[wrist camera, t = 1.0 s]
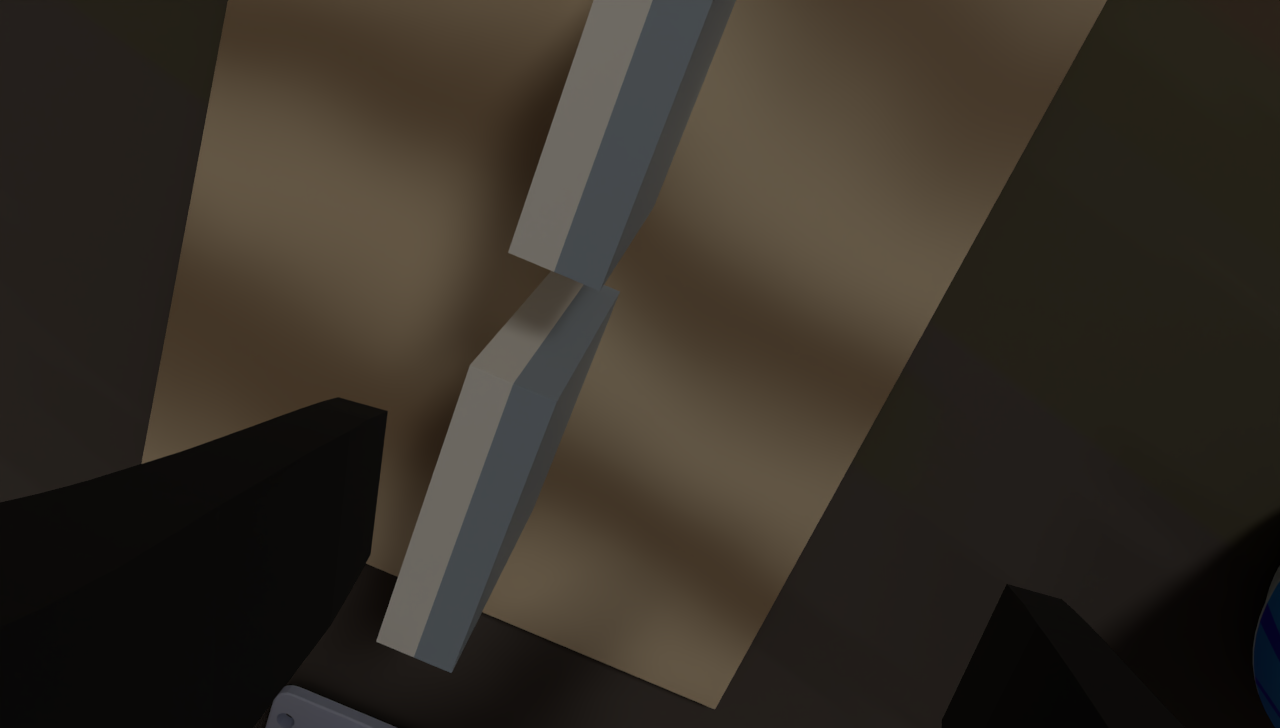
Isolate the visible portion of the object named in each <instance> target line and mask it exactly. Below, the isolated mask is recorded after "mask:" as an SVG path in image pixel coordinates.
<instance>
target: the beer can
mask: <svg viewBox="0 0 1280 728" xmlns="http://www.w3.org/2000/svg"><path fill="white" fill-rule="evenodd" d="M1253 671H1254V679H1255V683H1256V687H1257V690H1258V694H1259V697H1260V699H1261V702H1262V704H1263V707H1264V709H1265V711H1266V713H1267V715H1268V717H1269V718H1270V720H1271V722H1272V724H1273V725H1274V727H1275V728H1280V566H1279V568H1278V569H1277V571H1276V573H1275V575H1274V577H1273V580H1272V582H1271V585H1270V587H1269V590H1268V594H1267V598H1266V602H1265V604H1264V607H1263V609H1262V612H1261V614H1260V617H1259V620H1258V624H1257V628H1256V631H1255V637H1254V644H1253Z"/></svg>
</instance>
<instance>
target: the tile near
mask: <svg viewBox="0 0 1280 728" xmlns="http://www.w3.org/2000/svg"><path fill="white" fill-rule="evenodd" d="M735 2H736V0H593V3H592V6H591V9H590V12H589V15H588V18H587V21H586V24H585V27H584V30H583V33H582V36H581V39H580V42H579V45H578V48H577V51H576V54H575V56H574V59H573V62H572V65H571V68H570V71H569V74H568V77H567V80H566V83H565V86H564V89H563V92H562V95H561V98H560V101H559V104H558V107H557V110H556V113H555V115H554V118H553V121H552V124H551V127H550V130H549V133H548V136H547V139H546V142H545V145H544V148H543V151H542V154H541V157H540V160H539V163H538V166H537V169H536V172H535V174H534V177H533V180H532V183H531V186H530V189H529V192H528V195H527V198H526V201H525V204H524V207H523V210H522V213H521V216H520V219H519V222H518V225H517V228H516V231H515V233H514V236H513V239H512V242H511V245H510V248H509V251H508V253H510V254H513V255H515V256H517V257H520V258H522V259H524V260H527V261H529V262H532V263H534V264H536V265H539V266H541V267H543V268H546V269H548V270H551V271H553V272H555V273H558V274H560V275H562V276H565V277H567V278H570V279H572V280H574V281H577V282H579V283H582V284H584V285H586V286H589V287H591V288H593V289H596V290H598V291H600V290H601V289H602V287H603V286H604V284H605V282H606V281H607V279H608V278H609V276H610V275H611V273H612V272H613V270H614V268H615V267H616V265H617V264H618V262H619V261H620V259H621V258H622V256H623V254H624V253H625V251H626V250H627V248H628V247H629V245H630V244H631V242H632V240H633V239H634V237H635V236H636V234H637V233H638V231H639V229H640V228H641V226H642V225H643V223H644V222H645V220H646V219H647V217H648V215H649V214H650V212H651V211H652V209H653V208H654V205H655V203H656V200H657V198H658V195H659V193H660V190H661V188H662V185H663V183H664V180H665V177H666V175H667V172H668V170H669V167H670V165H671V162H672V160H673V157H674V155H675V152H676V150H677V147H678V145H679V142H680V140H681V137H682V135H683V132H684V130H685V127H686V125H687V122H688V120H689V117H690V115H691V112H692V110H693V107H694V105H695V102H696V100H697V97H698V95H699V92H700V90H701V87H702V85H703V82H704V80H705V77H706V75H707V72H708V70H709V67H710V65H711V62H712V60H713V57H714V54H715V52H716V49H717V47H718V44H719V42H720V39H721V37H722V34H723V32H724V29H725V27H726V24H727V22H728V19H729V17H730V14H731V12H732V9H733V7H734V4H735Z"/></svg>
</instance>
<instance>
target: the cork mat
mask: <svg viewBox="0 0 1280 728" xmlns="http://www.w3.org/2000/svg"><path fill="white" fill-rule="evenodd" d="M1106 1H1107V0H736V2H735V4H734V7H733V9H732V12H731V14H730V17H729V19H728V22H727V24H726V27H725V29H724V32H723V34H722V37H721V39H720V42H719V44H718V47H717V49H716V52H715V54H714V57H713V60H712V62H711V65H710V67H709V70H708V72H707V75H706V77H705V80H704V82H703V85H702V87H701V90H700V92H699V95H698V97H697V100H696V102H695V105H694V107H693V110H692V112H691V115H690V117H689V120H688V122H687V125H686V127H685V130H684V132H683V135H682V137H681V140H680V142H679V145H678V147H677V150H676V152H675V155H674V157H673V160H672V162H671V165H670V167H669V170H668V172H667V175H666V177H665V180H664V183H663V185H662V188H661V190H660V193H659V195H658V198H657V200H656V203H655V205H654V208H653V209H652V211H651V212H650V214H649V215H648V217H647V219H646V220H645V222H644V223H643V225H642V226H641V228H640V229H639V231H638V233H637V234H636V236H635V237H634V239H633V240H632V242H631V244H630V245H629V247H628V248H627V250H626V251H625V253H624V254H623V256H622V258H621V259H620V261H619V262H618V264H617V265H616V267H615V268H614V270H613V272H612V273H611V275H610V276H609V278H608V279H607V281H606V282H605V284H604V285H606V286H608V287H610V288H613V289H615V290H617V291H620V293H619V295H618V298H617V300H616V303H615V306H614V308H613V311H612V313H611V316H610V318H609V321H608V323H607V326H606V328H605V331H604V333H603V336H602V338H601V341H600V343H599V346H598V348H597V351H596V353H595V356H594V358H593V361H592V363H591V366H590V368H589V371H588V373H587V376H586V378H585V381H584V383H583V386H582V388H581V391H580V393H579V396H578V398H577V401H576V403H575V406H574V408H573V411H572V413H571V416H570V418H569V421H568V424H567V426H566V429H565V431H564V434H563V436H562V439H561V441H560V444H559V446H558V449H557V451H556V454H555V456H554V459H553V461H552V464H551V466H550V469H549V471H548V474H547V476H546V479H545V481H544V484H543V486H542V489H541V491H540V494H539V496H538V499H537V501H536V504H535V506H534V509H533V511H532V513H531V515H530V517H529V519H528V521H527V523H526V525H525V527H524V529H523V531H522V533H521V535H520V537H519V539H518V541H517V543H516V545H515V547H514V549H513V551H512V553H511V555H510V557H509V559H508V561H507V563H506V565H505V567H504V569H503V571H502V573H501V575H500V577H499V579H498V581H497V583H496V585H495V587H494V589H493V591H492V593H491V595H490V597H489V599H488V601H487V603H486V605H485V607H484V609H483V611H482V612H483V613H485V614H488V615H490V616H493V617H495V618H497V619H500V620H502V621H505V622H507V623H509V624H512V625H514V626H517V627H519V628H521V629H524V630H526V631H528V632H531V633H533V634H536V635H538V636H540V637H543V638H545V639H548V640H550V641H552V642H555V643H557V644H560V645H562V646H564V647H567V648H569V649H572V650H574V651H576V652H579V653H581V654H583V655H586V656H588V657H591V658H593V659H595V660H598V661H600V662H603V663H605V664H607V665H610V666H612V667H615V668H617V669H619V670H622V671H624V672H627V673H629V674H631V675H634V676H636V677H638V678H641V679H643V680H646V681H648V682H650V683H653V684H655V685H658V686H660V687H662V688H665V689H667V690H670V691H672V692H674V693H677V694H679V695H681V696H684V697H686V698H689V699H691V700H693V701H696V702H698V703H701V704H703V705H705V706H708V707H710V708H713V709H715V708H716V706H717V705H718V703H719V701H720V699H721V697H722V696H723V694H724V692H725V690H726V688H727V687H728V685H729V683H730V681H731V679H732V677H733V676H734V674H735V672H736V670H737V668H738V667H739V665H740V663H741V661H742V659H743V658H744V656H745V654H746V652H747V650H748V649H749V647H750V645H751V643H752V641H753V639H754V638H755V636H756V634H757V632H758V630H759V629H760V627H761V625H762V623H763V621H764V620H765V618H766V616H767V614H768V612H769V611H770V609H771V607H772V605H773V603H774V602H775V600H776V598H777V596H778V594H779V592H780V591H781V589H782V587H783V585H784V583H785V582H786V580H787V578H788V576H789V574H790V573H791V571H792V569H793V567H794V565H795V564H796V562H797V560H798V558H799V556H800V554H801V553H802V551H803V549H804V547H805V545H806V544H807V542H808V540H809V538H810V536H811V535H812V533H813V531H814V529H815V527H816V526H817V524H818V522H819V520H820V518H821V516H822V515H823V513H824V511H825V509H826V507H827V506H828V504H829V502H830V500H831V498H832V497H833V495H834V493H835V491H836V489H837V488H838V486H839V484H840V482H841V480H842V479H843V477H844V475H845V473H846V471H847V469H848V468H849V466H850V464H851V462H852V460H853V459H854V457H855V455H856V453H857V451H858V450H859V448H860V446H861V444H862V442H863V441H864V439H865V437H866V435H867V433H868V431H869V430H870V428H871V426H872V424H873V422H874V421H875V419H876V417H877V415H878V413H879V412H880V410H881V408H882V406H883V404H884V403H885V401H886V399H887V397H888V395H889V393H890V392H891V390H892V388H893V386H894V384H895V383H896V381H897V379H898V377H899V375H900V374H901V372H902V370H903V368H904V366H905V365H906V363H907V361H908V359H909V357H910V356H911V354H912V352H913V350H914V348H915V346H916V345H917V343H918V341H919V339H920V337H921V336H922V334H923V332H924V330H925V328H926V327H927V325H928V323H929V321H930V319H931V318H932V316H933V314H934V312H935V310H936V308H937V307H938V305H939V303H940V301H941V299H942V298H943V296H944V294H945V292H946V290H947V289H948V287H949V285H950V283H951V281H952V280H953V278H954V276H955V274H956V272H957V270H958V269H959V267H960V265H961V263H962V261H963V260H964V258H965V256H966V254H967V252H968V251H969V249H970V247H971V245H972V243H973V242H974V240H975V238H976V236H977V234H978V233H979V231H980V229H981V227H982V225H983V223H984V222H985V220H986V218H987V216H988V214H989V213H990V211H991V209H992V207H993V205H994V204H995V202H996V200H997V198H998V196H999V195H1000V193H1001V191H1002V189H1003V187H1004V185H1005V184H1006V182H1007V180H1008V178H1009V176H1010V175H1011V173H1012V171H1013V169H1014V167H1015V166H1016V164H1017V162H1018V160H1019V158H1020V157H1021V155H1022V153H1023V151H1024V149H1025V148H1026V146H1027V144H1028V142H1029V140H1030V138H1031V137H1032V135H1033V133H1034V131H1035V129H1036V128H1037V126H1038V124H1039V122H1040V120H1041V119H1042V117H1043V115H1044V113H1045V111H1046V110H1047V108H1048V106H1049V104H1050V102H1051V100H1052V99H1053V97H1054V95H1055V93H1056V91H1057V90H1058V88H1059V86H1060V84H1061V82H1062V81H1063V79H1064V77H1065V75H1066V73H1067V72H1068V70H1069V68H1070V66H1071V64H1072V62H1073V61H1074V59H1075V57H1076V55H1077V53H1078V52H1079V50H1080V48H1081V46H1082V44H1083V43H1084V41H1085V39H1086V37H1087V35H1088V34H1089V32H1090V30H1091V28H1092V26H1093V25H1094V23H1095V21H1096V19H1097V17H1098V15H1099V14H1100V12H1101V10H1102V8H1103V6H1104V5H1105V3H1106ZM592 3H593V0H228V3H227V9H226V14H225V19H224V25H223V30H222V35H221V41H220V46H219V52H218V57H217V62H216V68H215V73H214V78H213V84H212V89H211V94H210V100H209V105H208V110H207V116H206V121H205V127H204V132H203V137H202V143H201V148H200V153H199V159H198V164H197V169H196V175H195V180H194V185H193V191H192V196H191V202H190V207H189V212H188V218H187V223H186V228H185V234H184V239H183V244H182V250H181V255H180V260H179V266H178V271H177V277H176V282H175V287H174V293H173V298H172V303H171V309H170V314H169V319H168V325H167V330H166V335H165V341H164V346H163V352H162V357H161V362H160V368H159V373H158V378H157V384H156V389H155V394H154V400H153V405H152V410H151V416H150V421H149V427H148V432H147V437H146V443H145V448H144V453H143V459H142V464H143V463H146V462H149V461H153V460H156V459H159V458H162V457H165V456H169V455H172V454H175V453H178V452H181V451H184V450H187V449H190V448H193V447H196V446H198V445H201V444H204V443H207V442H210V441H212V440H215V439H218V438H221V437H224V436H226V435H229V434H232V433H235V432H238V431H240V430H243V429H246V428H249V427H252V426H254V425H257V424H260V423H262V422H265V421H268V420H271V419H273V418H276V417H279V416H282V415H284V414H287V413H290V412H293V411H295V410H298V409H301V408H304V407H307V406H310V405H313V404H316V403H319V402H322V401H325V400H329V399H333V398H337V397H340V398H343V399H347V400H350V401H354V402H357V403H361V404H365V405H368V406H372V407H375V408H379V409H383V410H386V411H388V414H387V422H386V431H385V439H384V447H383V456H382V464H381V472H380V481H379V489H378V497H377V506H376V514H375V522H374V531H373V539H372V547H371V555H370V557H369V558H368V560H367V562H366V564H368V565H371V566H373V567H376V568H378V569H380V570H383V571H385V572H387V573H390V574H392V575H395V576H397V577H398V576H399V573H400V570H401V567H402V564H403V561H404V558H405V555H406V552H407V549H408V546H409V543H410V540H411V537H412V534H413V531H414V529H415V526H416V523H417V520H418V517H419V514H420V511H421V508H422V505H423V502H424V499H425V496H426V493H427V490H428V487H429V484H430V481H431V478H432V475H433V472H434V470H435V467H436V464H437V461H438V458H439V455H440V452H441V449H442V446H443V443H444V440H445V437H446V434H447V431H448V428H449V425H450V422H451V419H452V416H453V413H454V411H455V408H456V405H457V402H458V399H459V396H460V393H461V390H462V387H463V384H464V381H465V378H466V375H467V372H468V369H469V366H470V364H471V363H472V362H473V361H474V360H475V359H476V357H477V356H478V355H479V354H480V353H481V352H482V351H483V349H484V348H485V347H486V346H487V345H488V344H489V342H490V341H491V340H492V339H493V338H494V337H495V335H496V334H497V333H498V332H499V331H500V330H501V329H502V327H503V326H504V325H505V324H506V323H507V322H508V320H509V319H510V318H511V317H512V316H513V315H514V313H515V312H516V311H517V310H518V309H519V308H520V307H521V305H522V304H523V303H524V302H525V301H526V300H527V298H528V297H529V296H530V295H531V294H532V293H533V291H534V290H535V289H536V288H537V287H538V286H539V285H540V283H541V282H542V281H543V280H544V279H545V278H546V276H547V275H548V274H549V273H550V272H551V270H548V269H546V268H543V267H541V266H539V265H536V264H534V263H532V262H529V261H527V260H524V259H522V258H520V257H517V256H515V255H513V254H510V253H508V251H509V248H510V245H511V242H512V239H513V236H514V233H515V231H516V228H517V225H518V222H519V219H520V216H521V213H522V210H523V207H524V204H525V201H526V198H527V195H528V192H529V189H530V186H531V183H532V180H533V177H534V174H535V172H536V169H537V166H538V163H539V160H540V157H541V154H542V151H543V148H544V145H545V142H546V139H547V136H548V133H549V130H550V127H551V124H552V121H553V118H554V115H555V113H556V110H557V107H558V104H559V101H560V98H561V95H562V92H563V89H564V86H565V83H566V80H567V77H568V74H569V71H570V68H571V65H572V62H573V59H574V56H575V54H576V51H577V48H578V45H579V42H580V39H581V36H582V33H583V30H584V27H585V24H586V21H587V18H588V15H589V12H590V9H591V6H592Z"/></svg>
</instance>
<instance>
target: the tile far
mask: <svg viewBox="0 0 1280 728" xmlns="http://www.w3.org/2000/svg"><path fill="white" fill-rule="evenodd" d="M619 293H620V291H617V290H615V289H613V288H610V287H608V286H606V285H604V286H603V287H602V289H601V290H600V291H598V290H596V289H593V288H591V287H589V286H586V285H584V284H582V283H579V282H577V281H574V280H572V279H570V278H567V277H565V276H562V275H560V274H558V273H555V272H553V271H551V272H550V273H549V274H548V275H547V276H546V278H545V279H544V280H543V281H542V282H541V283H540V285H539V286H538V287H537V288H536V289H535V290H534V291H533V293H532V294H531V295H530V296H529V297H528V298H527V300H526V301H525V302H524V303H523V304H522V305H521V307H520V308H519V309H518V310H517V311H516V312H515V313H514V315H513V316H512V317H511V318H510V319H509V320H508V322H507V323H506V324H505V325H504V326H503V327H502V329H501V330H500V331H499V332H498V333H497V334H496V335H495V337H494V338H493V339H492V340H491V341H490V342H489V344H488V345H487V346H486V347H485V348H484V349H483V351H482V352H481V353H480V354H479V355H478V356H477V357H476V359H475V360H474V361H473V362H472V363H471V364H470V366H469V369H468V372H467V375H466V378H465V381H464V384H463V387H462V390H461V393H460V396H459V399H458V402H457V405H456V408H455V411H454V413H453V416H452V419H451V422H450V425H449V428H448V431H447V434H446V437H445V440H444V443H443V446H442V449H441V452H440V455H439V458H438V461H437V464H436V467H435V470H434V472H433V475H432V478H431V481H430V484H429V487H428V490H427V493H426V496H425V499H424V502H423V505H422V508H421V511H420V514H419V517H418V520H417V523H416V526H415V529H414V531H413V534H412V537H411V540H410V543H409V546H408V549H407V552H406V555H405V558H404V561H403V564H402V567H401V570H400V573H399V576H398V579H397V582H396V585H395V588H394V590H393V593H392V596H391V599H390V602H389V605H388V608H387V611H386V614H385V617H384V620H383V623H382V626H381V629H380V632H379V635H378V638H377V641H376V642H378V643H381V644H383V645H386V646H388V647H390V648H393V649H395V650H398V651H400V652H402V653H405V654H407V655H409V656H412V657H414V658H417V659H419V660H421V661H424V662H426V663H429V664H431V665H433V666H436V667H438V668H441V669H443V670H445V671H448V672H450V673H452V671H453V669H454V667H455V665H456V663H457V661H458V659H459V657H460V655H461V653H462V651H463V649H464V647H465V645H466V643H467V641H468V639H469V637H470V635H471V633H472V631H473V629H474V627H475V625H476V623H477V621H478V619H479V617H480V615H481V613H482V611H483V609H484V607H485V605H486V603H487V601H488V599H489V597H490V595H491V593H492V591H493V589H494V587H495V585H496V583H497V581H498V579H499V577H500V575H501V573H502V571H503V569H504V567H505V565H506V563H507V561H508V559H509V557H510V555H511V553H512V551H513V549H514V547H515V545H516V543H517V541H518V539H519V537H520V535H521V533H522V531H523V529H524V527H525V525H526V523H527V521H528V519H529V517H530V515H531V513H532V511H533V509H534V506H535V504H536V501H537V499H538V496H539V494H540V491H541V489H542V486H543V484H544V481H545V479H546V476H547V474H548V471H549V469H550V466H551V464H552V461H553V459H554V456H555V454H556V451H557V449H558V446H559V444H560V441H561V439H562V436H563V434H564V431H565V429H566V426H567V424H568V421H569V418H570V416H571V413H572V411H573V408H574V406H575V403H576V401H577V398H578V396H579V393H580V391H581V388H582V386H583V383H584V381H585V378H586V376H587V373H588V371H589V368H590V366H591V363H592V361H593V358H594V356H595V353H596V351H597V348H598V346H599V343H600V341H601V338H602V336H603V333H604V331H605V328H606V326H607V323H608V321H609V318H610V316H611V313H612V311H613V308H614V306H615V303H616V300H617V298H618V295H619Z"/></svg>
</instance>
